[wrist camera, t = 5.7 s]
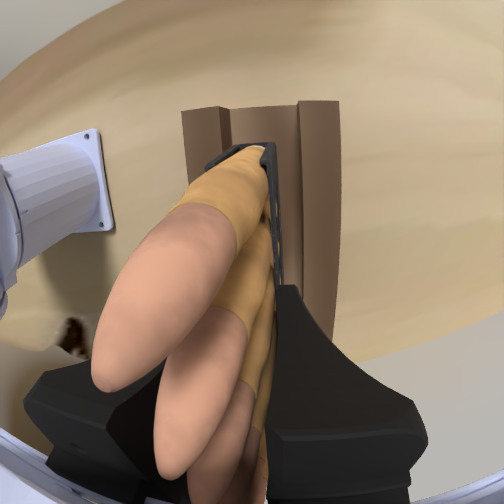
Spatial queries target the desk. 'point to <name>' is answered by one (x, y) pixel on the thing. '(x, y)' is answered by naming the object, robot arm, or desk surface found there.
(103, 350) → the ammunition clip
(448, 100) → the desk surface
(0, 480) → the robot arm
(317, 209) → the walnut rack
